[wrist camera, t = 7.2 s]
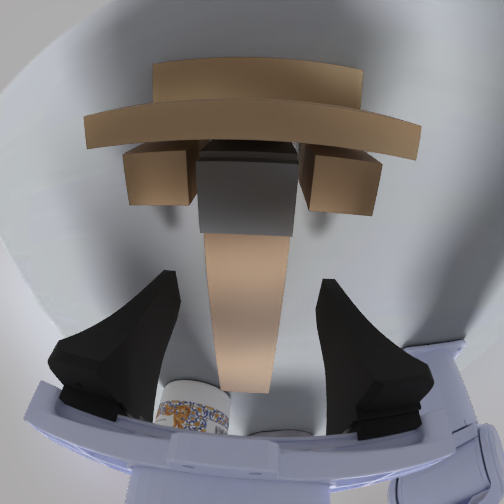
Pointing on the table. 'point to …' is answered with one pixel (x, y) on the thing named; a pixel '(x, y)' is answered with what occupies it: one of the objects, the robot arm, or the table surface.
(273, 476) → the robot arm
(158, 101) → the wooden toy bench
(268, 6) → the table surface
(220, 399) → the bath foam
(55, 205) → the table surface
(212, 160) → the brown wooden block
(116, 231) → the table surface
